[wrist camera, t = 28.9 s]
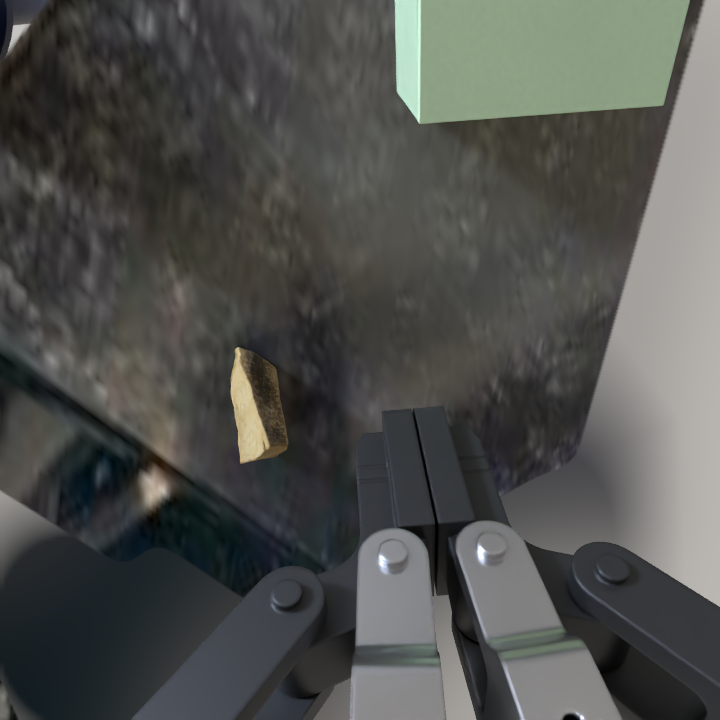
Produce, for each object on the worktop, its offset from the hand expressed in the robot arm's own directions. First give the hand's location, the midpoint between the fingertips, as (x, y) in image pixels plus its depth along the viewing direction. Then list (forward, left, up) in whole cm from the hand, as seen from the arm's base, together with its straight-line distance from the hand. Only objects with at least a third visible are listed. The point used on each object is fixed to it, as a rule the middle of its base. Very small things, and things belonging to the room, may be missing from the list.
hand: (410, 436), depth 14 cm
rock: (+10, -25, -35) cm, 44 cm away
